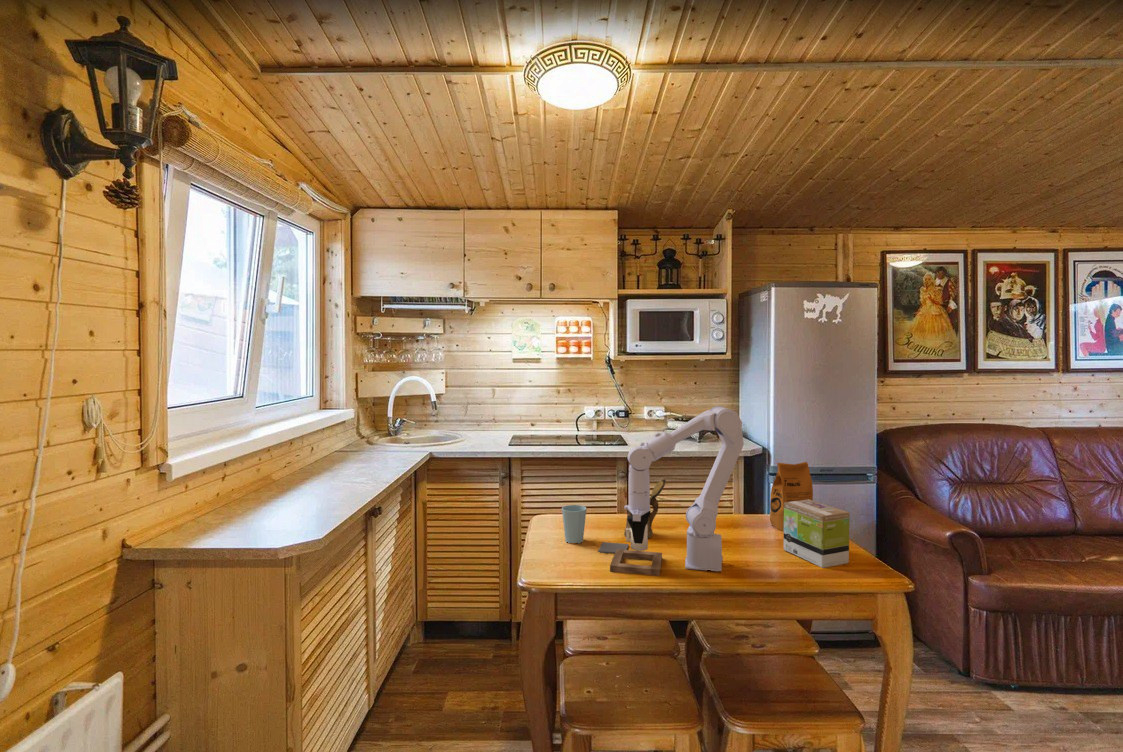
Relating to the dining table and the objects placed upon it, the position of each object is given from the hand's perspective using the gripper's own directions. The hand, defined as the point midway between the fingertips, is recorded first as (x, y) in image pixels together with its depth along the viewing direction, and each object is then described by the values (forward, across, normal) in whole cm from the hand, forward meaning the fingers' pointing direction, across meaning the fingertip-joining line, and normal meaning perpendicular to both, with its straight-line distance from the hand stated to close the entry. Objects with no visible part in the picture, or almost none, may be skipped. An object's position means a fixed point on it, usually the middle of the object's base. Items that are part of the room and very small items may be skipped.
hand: (639, 539), depth 152 cm
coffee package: (+7, -46, +46) cm, 65 cm away
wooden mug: (+7, -26, -1) cm, 27 cm away
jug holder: (+7, 0, -1) cm, 7 cm away
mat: (+7, -11, -9) cm, 16 cm away
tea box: (+8, -18, +48) cm, 52 cm away
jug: (+2, 0, 0) cm, 2 cm away
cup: (+7, -16, -22) cm, 28 cm away
